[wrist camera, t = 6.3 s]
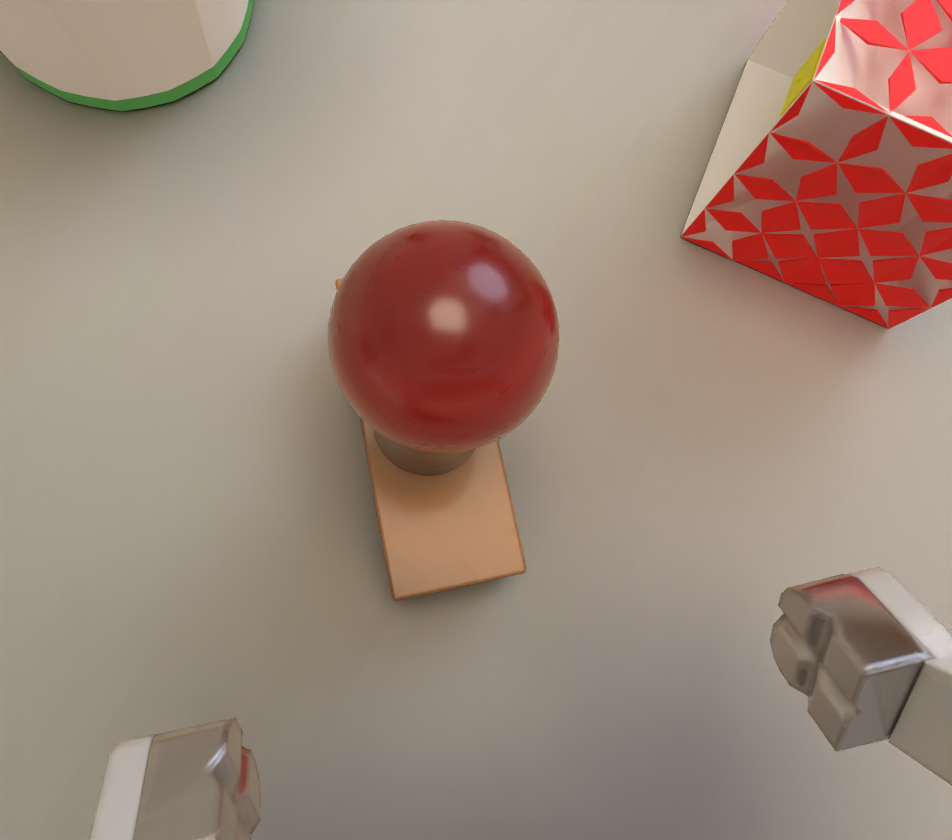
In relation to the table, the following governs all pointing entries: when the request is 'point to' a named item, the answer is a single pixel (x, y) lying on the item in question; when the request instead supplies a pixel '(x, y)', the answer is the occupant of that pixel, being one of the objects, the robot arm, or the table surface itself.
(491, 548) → the stamp
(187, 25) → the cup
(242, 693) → the table surface
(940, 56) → the red and white cube
